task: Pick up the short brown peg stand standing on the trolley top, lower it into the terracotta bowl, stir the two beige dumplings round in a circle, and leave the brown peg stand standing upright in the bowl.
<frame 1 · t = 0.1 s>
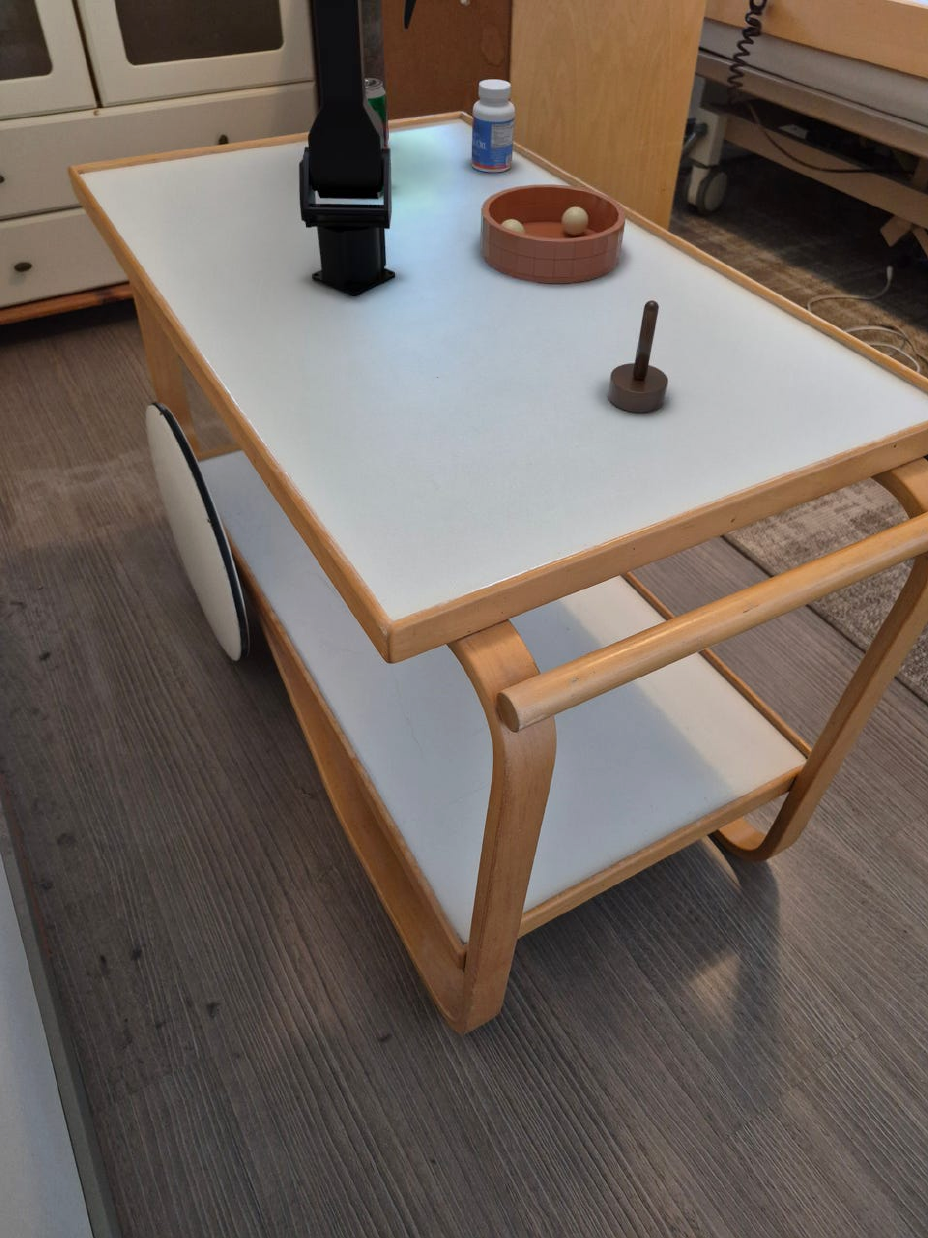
hand: (368, 26, 109), 15 cm above the table, tool pointing down, fingers open, 9 cm apart
brown peg stand: (635, 397, 80), on the table
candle: (362, 147, 124), on the table
soda can: (369, 191, 113), on the table
dumpling 2: (511, 233, 99), point 2 cm above the table, touching bowl
bowl: (550, 251, 101), on the table
pill bottle: (491, 167, 120), on the table
dumpling 1: (574, 221, 102), point 2 cm above the table, touching bowl
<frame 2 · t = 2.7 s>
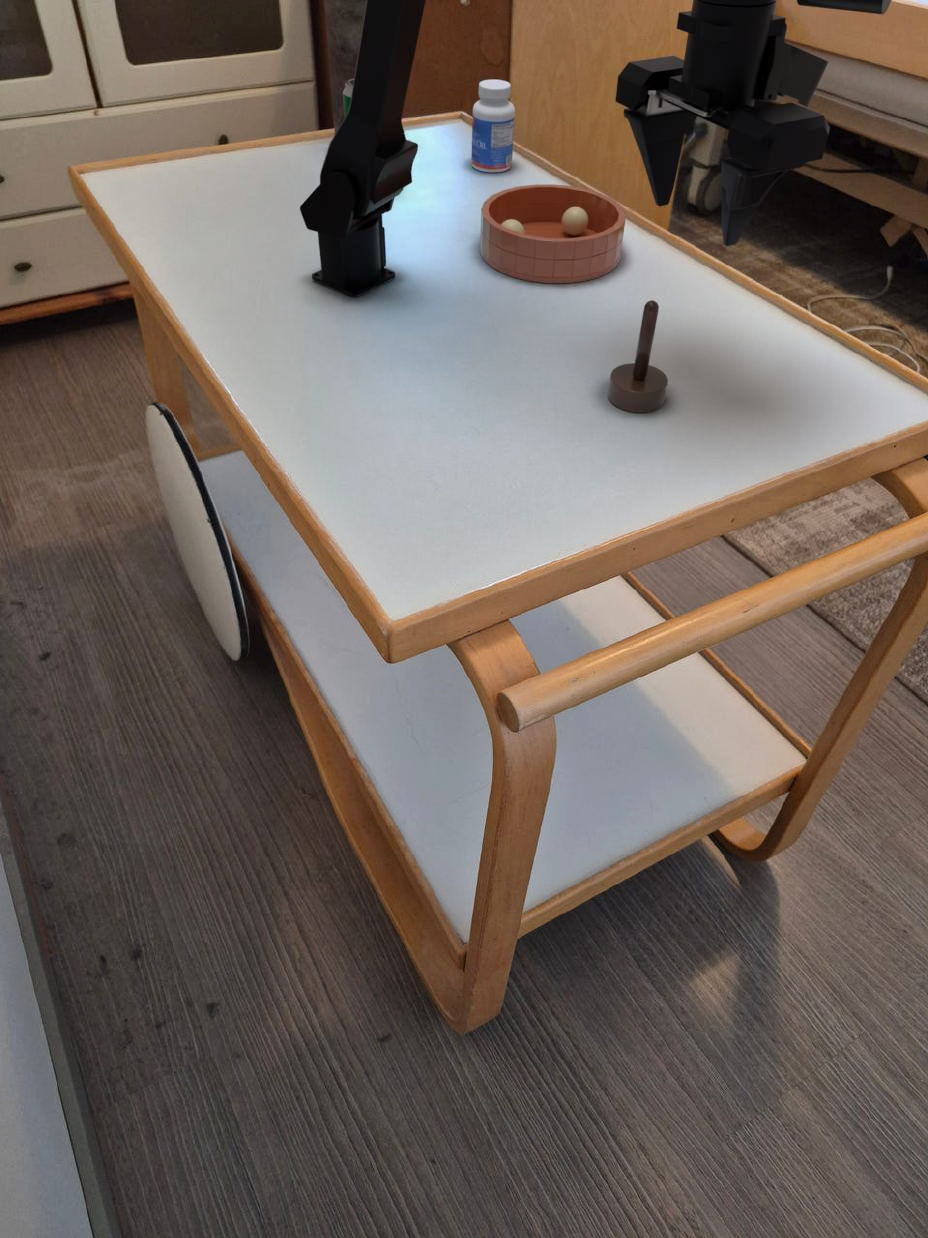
hand: (694, 224, 74), 13 cm above the table, tool pointing down, fingers open, 9 cm apart
nothing on the table moved.
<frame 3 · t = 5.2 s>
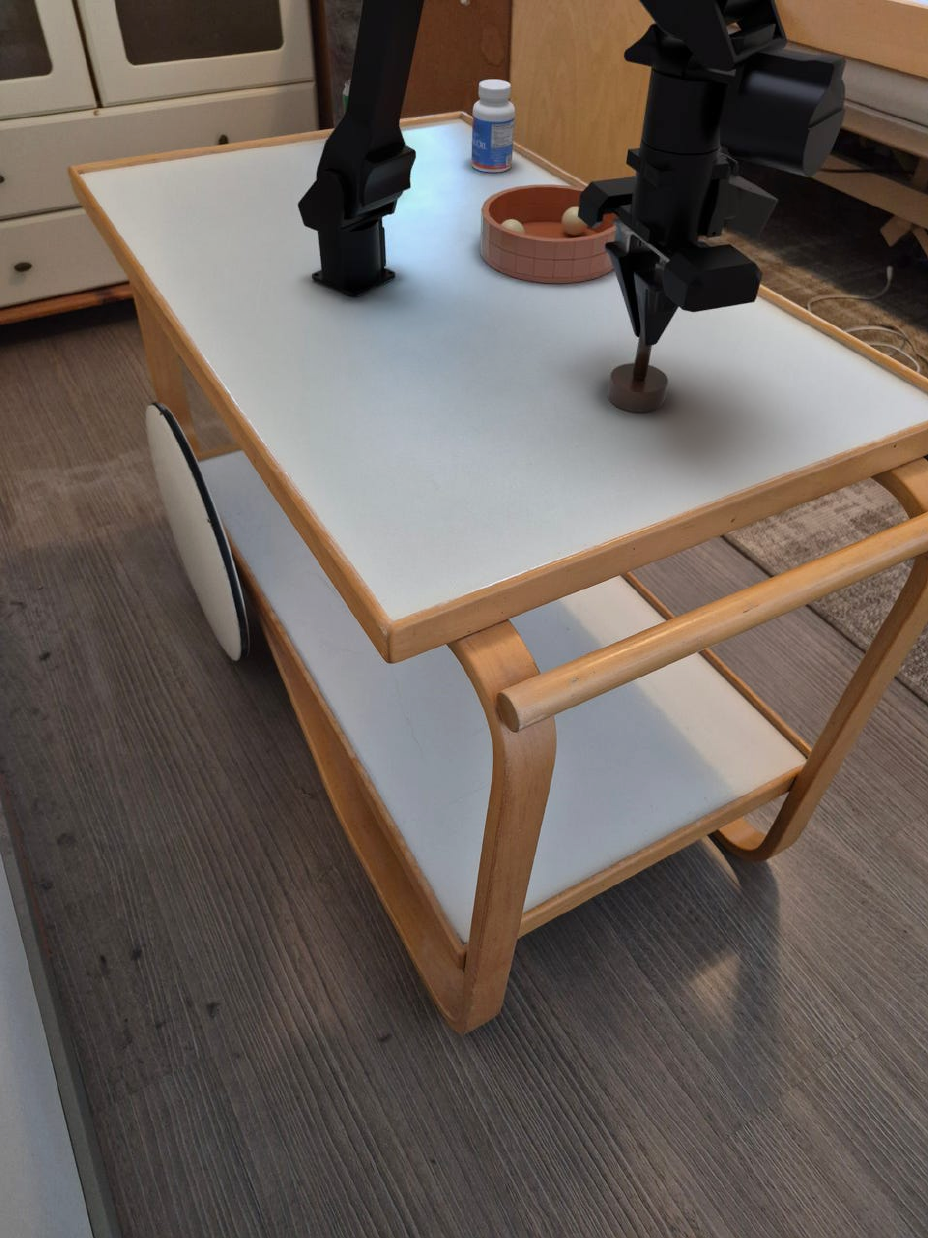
hand: (645, 340, 76), 6 cm above the table, tool pointing down, fingers closed on brown peg stand
brown peg stand: (635, 397, 80), on the table, touching gripper
everything else where it was.
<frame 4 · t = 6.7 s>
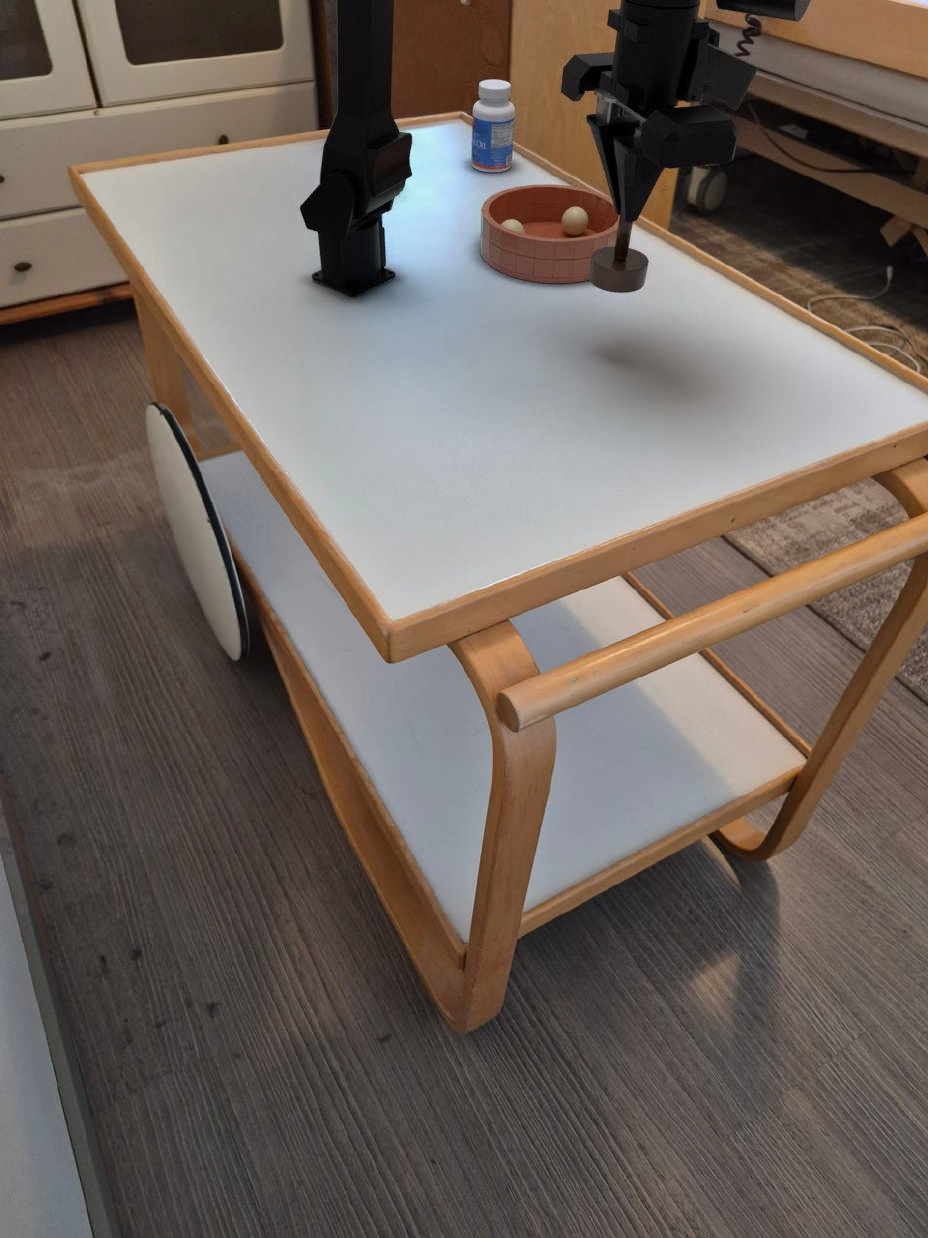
hand: (626, 217, 77), 13 cm above the table, tool pointing down, fingers closed on brown peg stand
brown peg stand: (616, 280, 81), point 7 cm above the table, touching gripper
everything else where it was.
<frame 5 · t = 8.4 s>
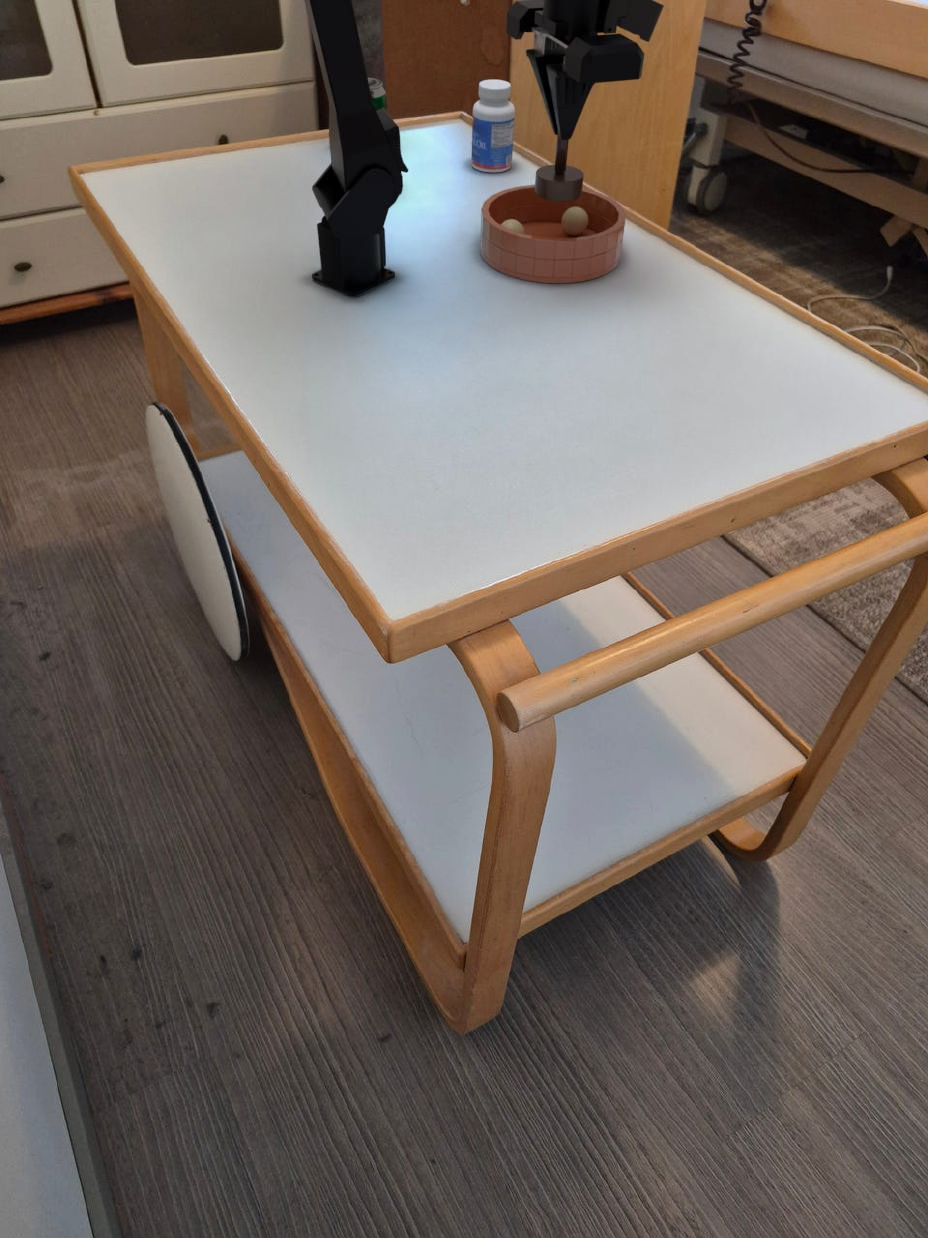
hand: (562, 136, 92), 12 cm above the table, tool pointing down, fingers closed on brown peg stand
brown peg stand: (558, 192, 96), point 7 cm above the table, touching gripper
everything else where it was.
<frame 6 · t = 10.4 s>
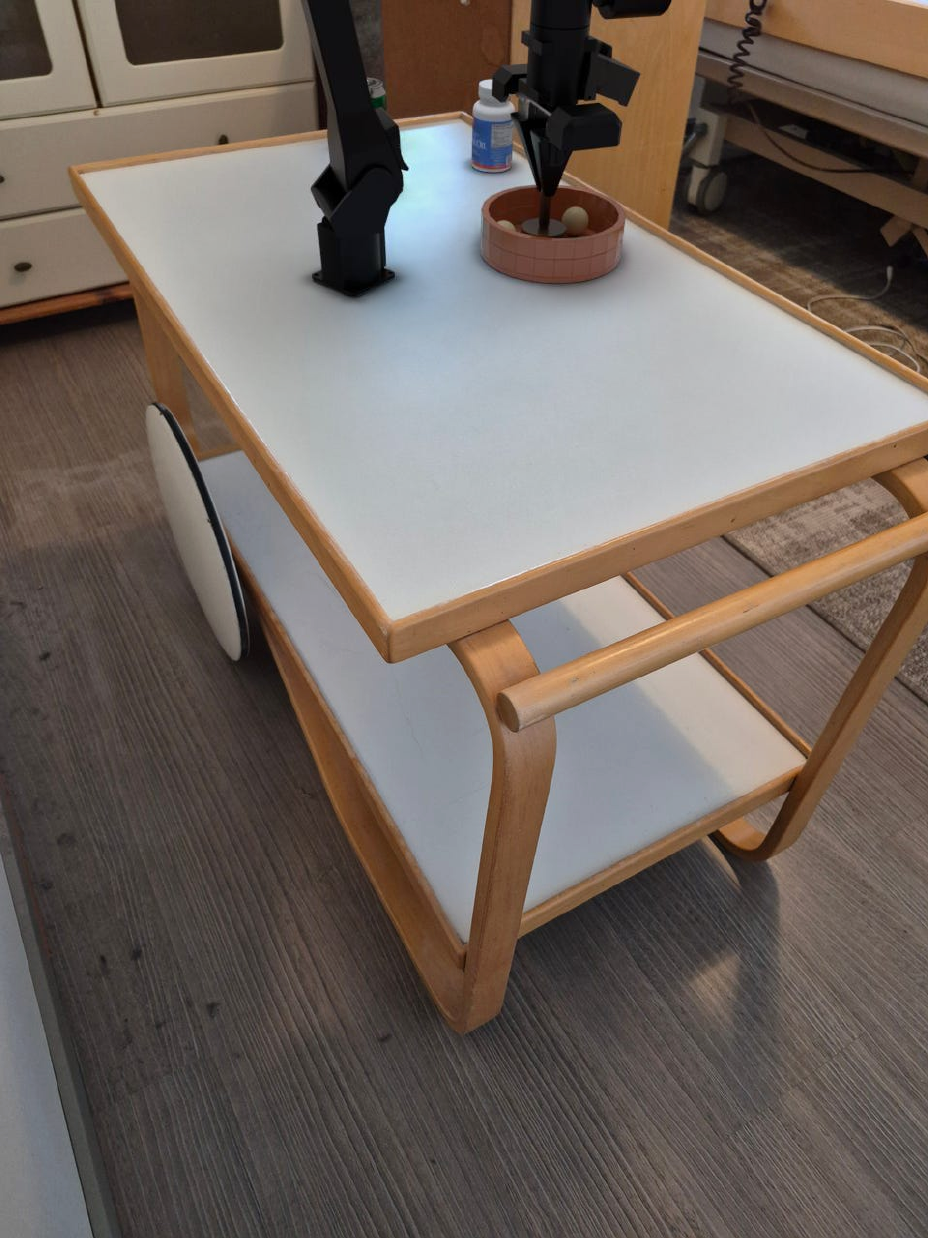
hand: (546, 193, 96), 6 cm above the table, tool pointing down, fingers closed on brown peg stand
brown peg stand: (542, 244, 100), point 1 cm above the table, touching gripper
dumpling 2: (503, 235, 99), point 2 cm above the table, tilted 36°, touching bowl
everything else where it was.
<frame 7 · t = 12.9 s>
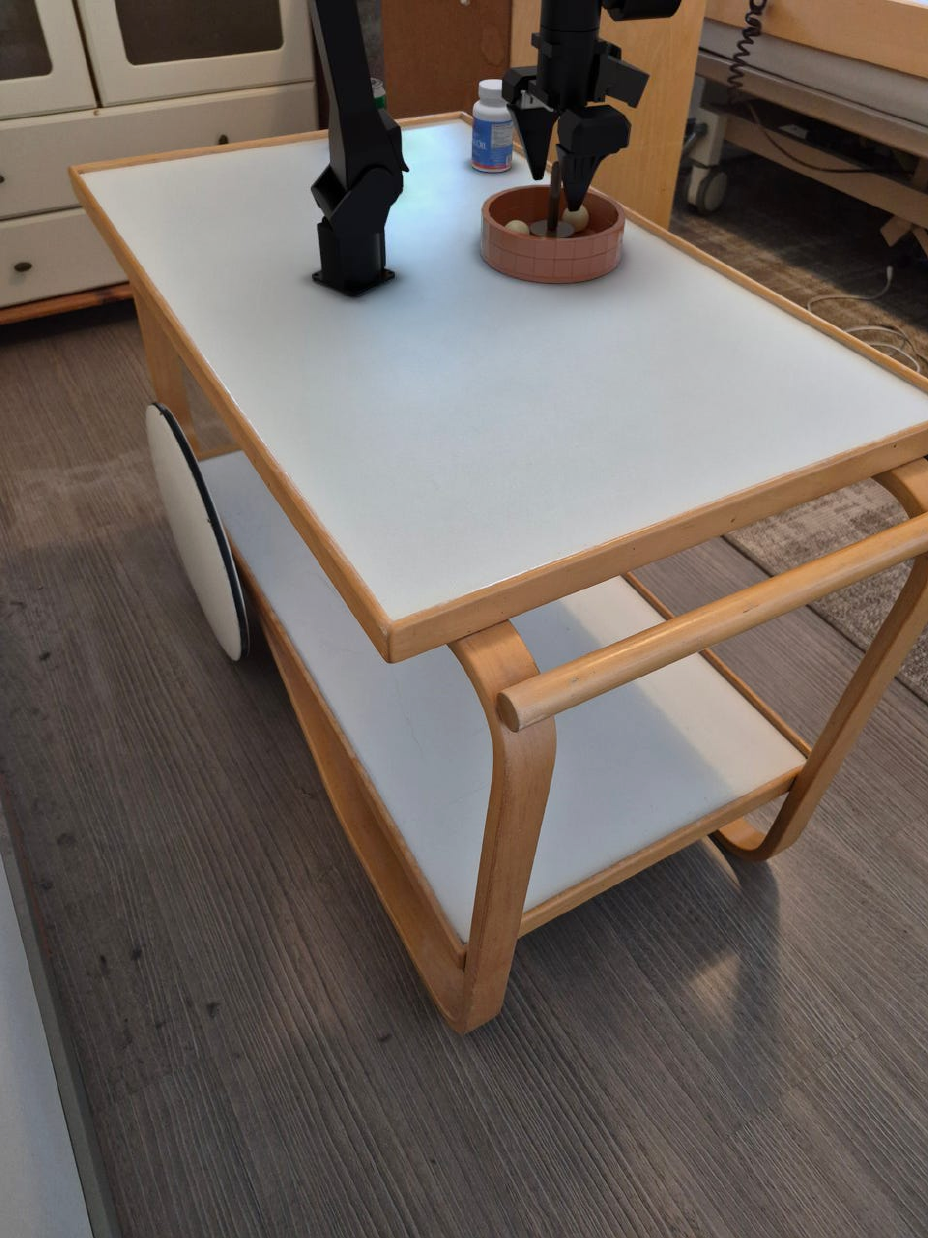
hand: (555, 194, 97), 6 cm above the table, tool pointing down, fingers open, 9 cm apart
brown peg stand: (550, 246, 101), point 1 cm above the table, touching bowl
dumpling 2: (516, 234, 99), point 2 cm above the table, tilted 22°, touching bowl
dumpling 1: (575, 218, 103), point 2 cm above the table, tilted 30°, touching bowl
everything else where it was.
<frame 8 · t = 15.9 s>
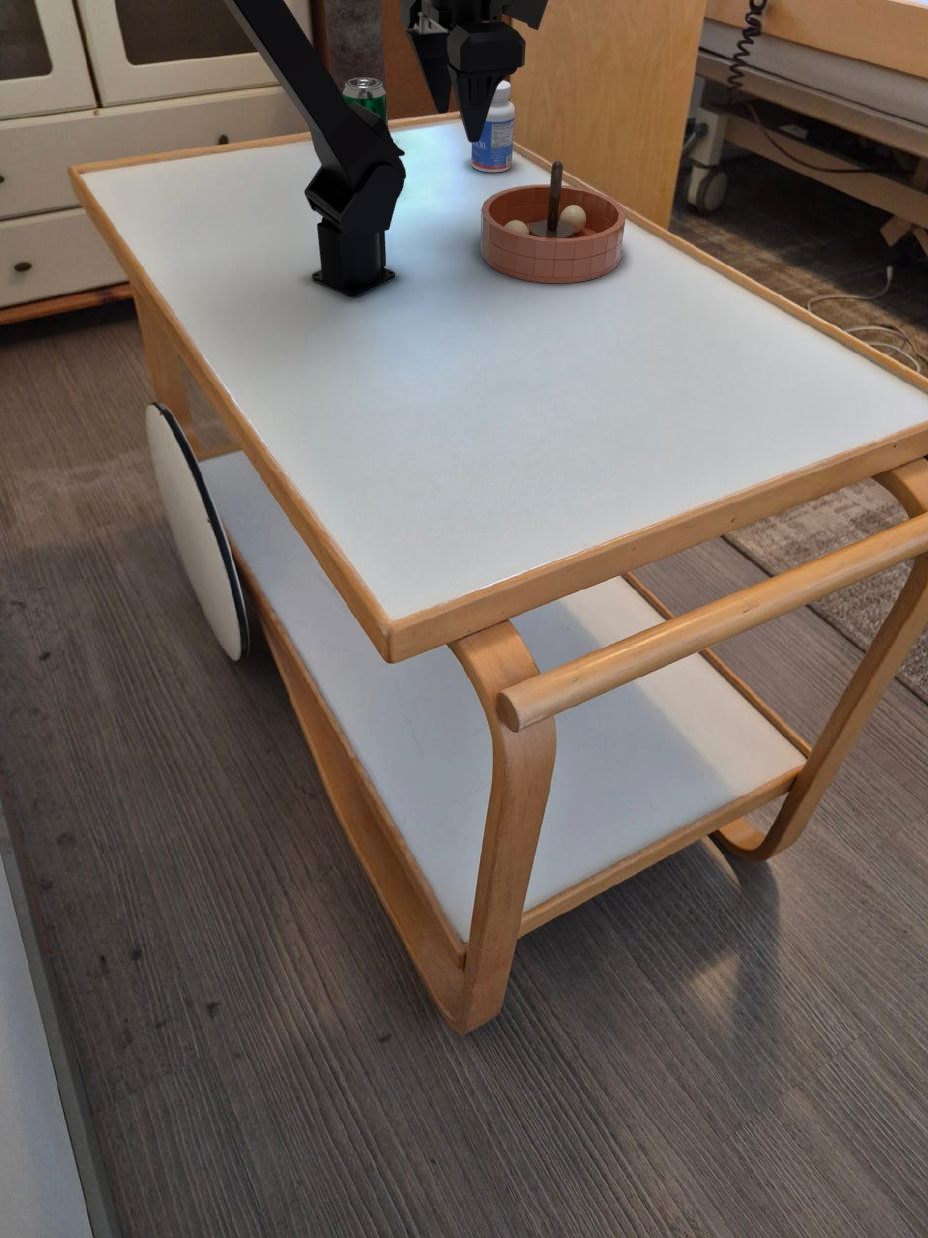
hand: (457, 126, 91), 13 cm above the table, tool pointing down, fingers open, 9 cm apart
dumpling 1: (572, 219, 102), point 2 cm above the table, tilted 17°, touching bowl
everything else where it was.
at the end: brown peg stand 0.0 cm off-centre in the bowl, point 0.6 cm above the bowl's base; brown peg stand tilted 0°; dumpling 1 inside the target area in the bowl (4.7 cm from its centre), point 2.1 cm above the bowl's base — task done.
